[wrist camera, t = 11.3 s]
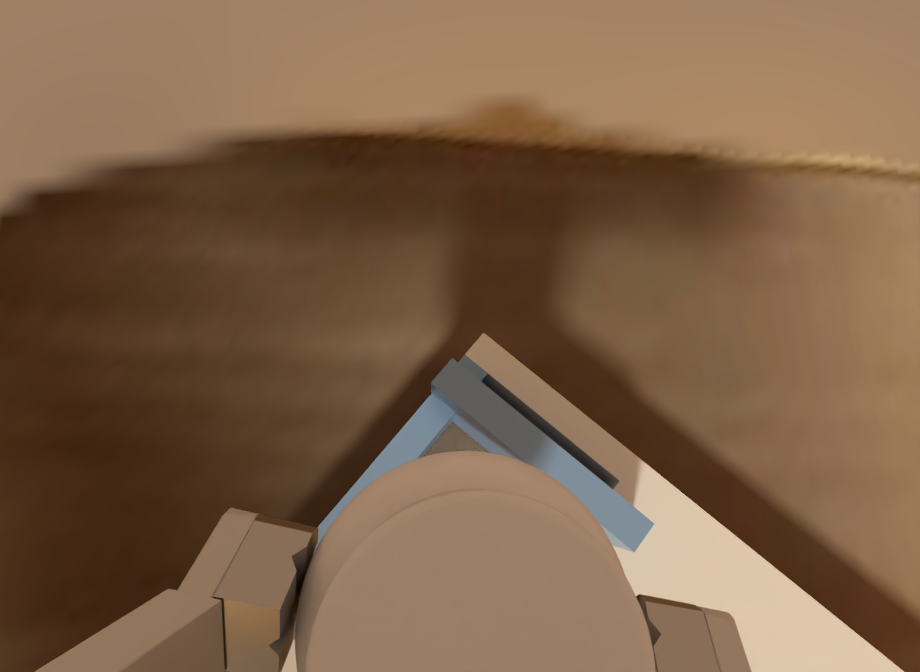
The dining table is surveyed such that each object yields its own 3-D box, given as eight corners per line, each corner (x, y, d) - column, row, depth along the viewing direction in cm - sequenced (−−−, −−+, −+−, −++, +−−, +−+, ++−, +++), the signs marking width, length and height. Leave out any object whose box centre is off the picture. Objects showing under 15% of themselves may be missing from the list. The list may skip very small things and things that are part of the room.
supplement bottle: (593, 581, 16) (823, 710, 7) (439, 731, 15) (449, 1139, 6) (464, 427, 17) (503, 345, 8) (310, 557, 16) (129, 654, 6)
